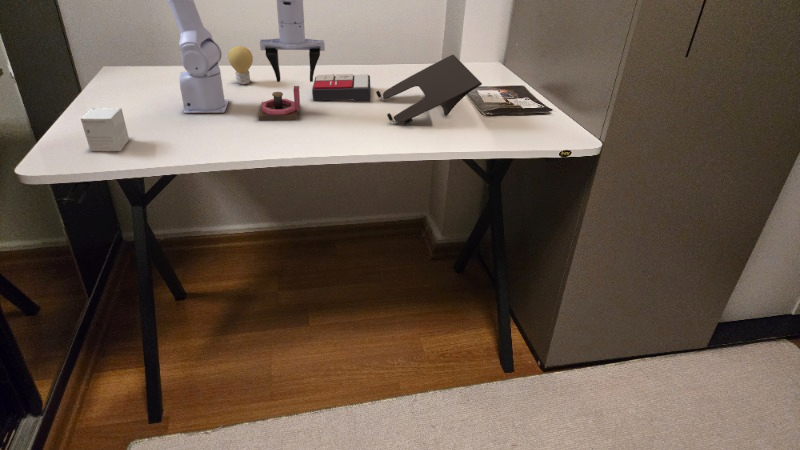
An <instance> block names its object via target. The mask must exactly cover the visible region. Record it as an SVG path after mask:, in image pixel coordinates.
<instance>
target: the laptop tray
mask: <svg viewBox="0 0 800 450" xmlns="http://www.w3.org/2000/svg"><path fill="white" fill-rule="evenodd" d="M482 85H483V82H481V81H480V80H479V79H478V78H477V76H476V75H475V74H473V72H472V71H470V70H469V69H468V67H467V66H465V64H464V63H462V62H461V60H460V59H459V58H458V57H457V56H455V55H454V54H451V55H449V56H446V57H445V58H443V59H441V60H439V61H436V62H435V63H433V64H430V65H429V66H427V67H425V68H424V69H421V70H420V71H417V72H416V73H414V74H412V75H410V76H409V77H406V78H405V79H402V80H401V81H399V82H398V83H396V84H394V85H393V86H391V87H389V88H386V89H385V91H383V93H382V94H381V92H380V91H379V90H376V91H375V93H376V95H377V97H378V99H379V100H380V101H386V100H389V99H390V98H393V97H394V96H397V95H399V94H401V93H404V92H406V91H408V90H410V89H412V88H415V87H418V88H419V89H420V90H421V92H422V93H423V95H424V97H422V99H420V100H418V101H416V102H415V103H413V104H411V105H410V106H408V107H406V108H405V109H403V110H401V111H400V112H398V113H396V114H395V115H394V116H392V114H391V113H390V112H389V113H386V116H387V119H388V120H389V122H390V123H391V124H392V125H397V124H398V123H399V124H400V123H403V124H404V125H409V124H411V122H413V118H416V117H418V116H421V115H422V114H425V113H426V112H428V111H431V110H433V109H435V108H438V107H439V106H440V107H441V108H442V111H443V116H445V117H447V116H448V115H450V113H451V112H452V110H453V109H454V108H455V107H456V106H457V105H458V103H460V101H462V100H463V98H464V97H466V96H467V95H469V93H470V92H473V91H474V90H475V89H478V88H479V87H481V86H482Z"/></svg>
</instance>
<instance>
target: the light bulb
mask: <svg viewBox="0 0 800 450" xmlns="http://www.w3.org/2000/svg"><path fill="white" fill-rule="evenodd" d="M227 60H228V62H229V65H230V66H231V68H233V70H234V71H235V78H236V79H235V80H236V83H237V84H239V85H248V84H249V83H251V76H250V74H251V73H250V71H249V70H250V68H251V67H252V65H253V61H254V56H253V53H252V51H251V50H250V49H249V48H247V47H245V46H242V45H236V46H234V47H232V48H230V49H229V51H228V54H227Z"/></svg>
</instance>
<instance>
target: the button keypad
mask: <svg viewBox="0 0 800 450" xmlns="http://www.w3.org/2000/svg"><path fill="white" fill-rule="evenodd" d="M311 92H312V100H313V102H318V101H319V102H320V101H324V102H325V101H354V102H356V103H362V102H363V103H364V102H371V75H370V74H366V73H365V74H364V73H363V74H353V73H340V74H339V73H338V74H316V76H315V77H314V80H313V84H312V89H311Z"/></svg>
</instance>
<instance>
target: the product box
mask: <svg viewBox="0 0 800 450" xmlns="http://www.w3.org/2000/svg"><path fill="white" fill-rule="evenodd" d="M80 121H81V125H82V129H83V131H84V135H85V138H86V141H87V145H88V148H89V150H90V151H91V152H121V151H122V150H123V148H124V147H125V146H126V144H127V143H128V141H129V140H130V136H129V133H128V128H127V124H126V120H125V117H124V113H123V109H122V108H121V107H91V108H90V109H89V110H87V111H86V113H85V114H83V115H82V116H81V117H80Z"/></svg>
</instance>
